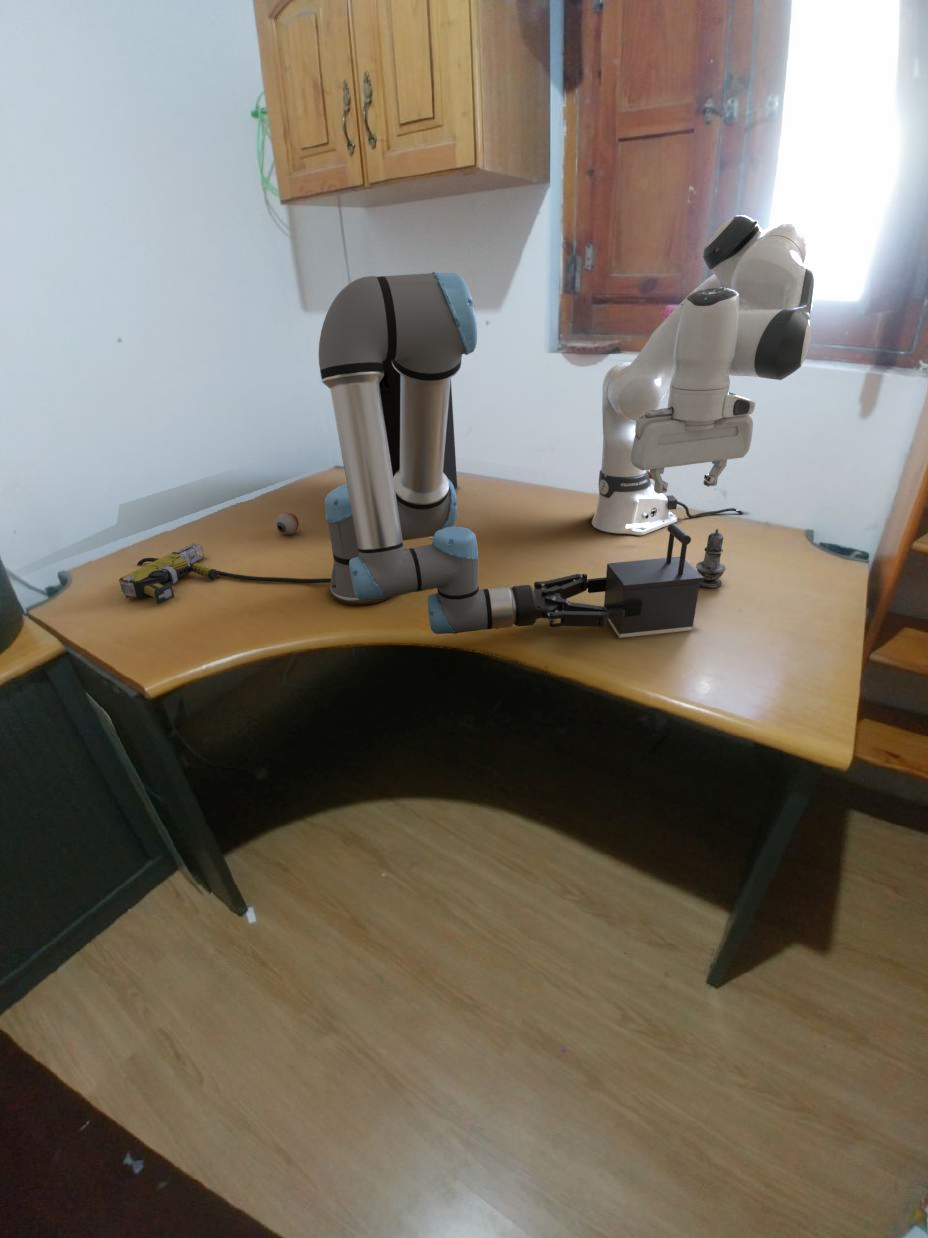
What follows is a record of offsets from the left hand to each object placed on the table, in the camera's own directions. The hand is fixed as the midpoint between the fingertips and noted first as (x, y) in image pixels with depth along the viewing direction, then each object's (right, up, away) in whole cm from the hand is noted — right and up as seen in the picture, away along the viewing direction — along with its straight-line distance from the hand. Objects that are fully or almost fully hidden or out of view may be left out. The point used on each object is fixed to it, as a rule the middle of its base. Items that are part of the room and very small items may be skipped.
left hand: (630, 594), depth 112 cm
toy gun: (-97, +4, +30) cm, 102 cm away
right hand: (+7, +18, -9) cm, 21 cm away
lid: (+4, +4, -2) cm, 5 cm away
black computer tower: (-47, +29, +67) cm, 87 cm away
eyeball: (-79, +19, +53) cm, 97 cm away
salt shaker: (+21, +3, +16) cm, 26 cm away
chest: (+4, -5, +3) cm, 7 cm away
